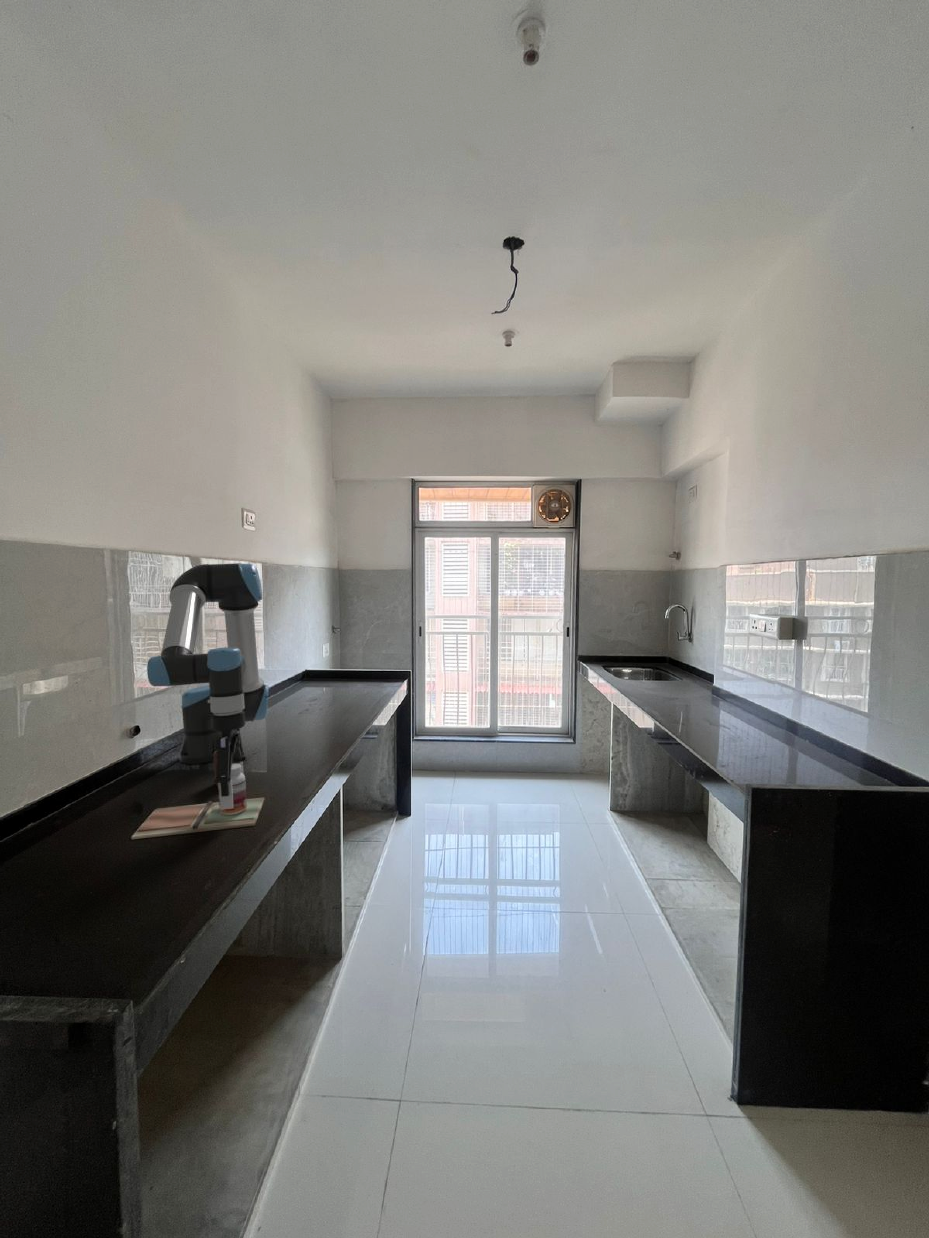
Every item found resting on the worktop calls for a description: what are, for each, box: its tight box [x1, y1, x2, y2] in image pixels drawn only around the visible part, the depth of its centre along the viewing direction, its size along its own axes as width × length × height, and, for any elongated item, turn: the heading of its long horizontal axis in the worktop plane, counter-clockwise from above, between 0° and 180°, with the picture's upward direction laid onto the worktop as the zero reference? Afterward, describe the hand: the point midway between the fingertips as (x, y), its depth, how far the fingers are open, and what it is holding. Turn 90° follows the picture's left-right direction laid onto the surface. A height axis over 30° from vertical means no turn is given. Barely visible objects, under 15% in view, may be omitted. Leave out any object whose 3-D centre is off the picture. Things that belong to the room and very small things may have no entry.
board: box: [131, 797, 265, 840], centre depth 134 cm, size 16×26×1 cm, turn 102°
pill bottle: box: [217, 764, 248, 815], centre depth 135 cm, size 6×6×11 cm
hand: (232, 797), depth 136 cm, fingers open, 13 cm apart
